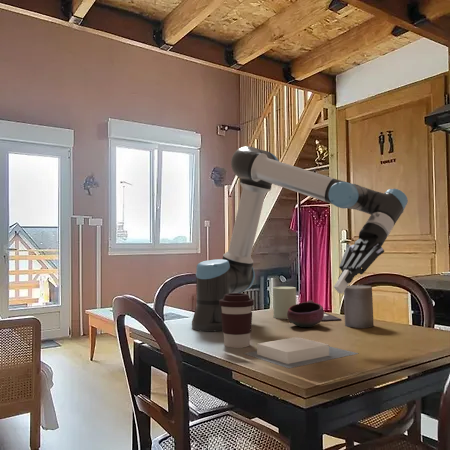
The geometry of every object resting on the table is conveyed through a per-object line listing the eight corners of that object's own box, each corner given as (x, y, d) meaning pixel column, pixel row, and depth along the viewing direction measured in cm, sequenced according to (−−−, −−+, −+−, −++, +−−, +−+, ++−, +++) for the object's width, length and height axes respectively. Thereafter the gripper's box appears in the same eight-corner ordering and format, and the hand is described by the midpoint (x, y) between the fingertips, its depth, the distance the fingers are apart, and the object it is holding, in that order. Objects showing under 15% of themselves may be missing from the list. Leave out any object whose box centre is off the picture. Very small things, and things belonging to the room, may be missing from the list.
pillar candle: (369, 323, 171) (367, 281, 172) (377, 328, 161) (375, 283, 162) (342, 323, 171) (340, 282, 172) (348, 328, 162) (346, 284, 162)
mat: (243, 355, 125) (243, 353, 125) (310, 343, 139) (310, 341, 139) (288, 370, 110) (288, 368, 110) (358, 355, 124) (358, 353, 124)
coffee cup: (230, 341, 143) (229, 291, 143) (260, 345, 138) (259, 293, 138) (213, 348, 134) (212, 295, 135) (244, 352, 129) (243, 296, 130)
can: (270, 315, 191) (270, 285, 192) (293, 314, 192) (292, 285, 193) (275, 319, 182) (275, 287, 182) (299, 318, 183) (298, 287, 183)
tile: (297, 347, 132) (257, 354, 124) (297, 336, 132) (257, 343, 124) (329, 355, 122) (287, 363, 114) (328, 344, 122) (287, 352, 114)
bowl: (329, 329, 161) (329, 305, 161) (292, 330, 159) (291, 306, 159) (314, 321, 176) (314, 299, 177) (281, 322, 175) (280, 300, 175)
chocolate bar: (318, 320, 176) (302, 312, 194) (318, 322, 176) (302, 315, 194) (341, 319, 177) (323, 312, 195) (341, 321, 177) (323, 314, 195)
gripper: (352, 222, 147) (314, 279, 137) (388, 220, 136) (349, 282, 126) (364, 239, 150) (328, 296, 140) (400, 239, 139) (363, 301, 129)
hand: (338, 290), depth 133 cm, fingers closed
